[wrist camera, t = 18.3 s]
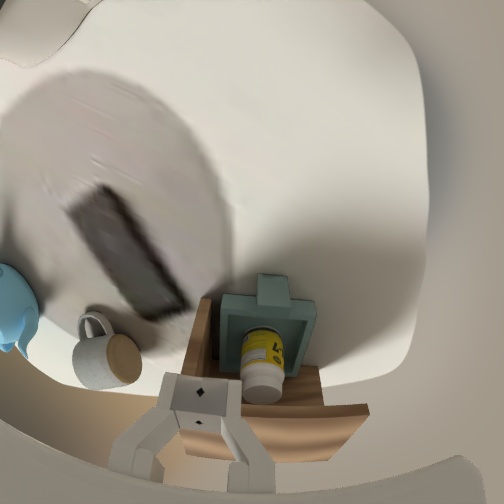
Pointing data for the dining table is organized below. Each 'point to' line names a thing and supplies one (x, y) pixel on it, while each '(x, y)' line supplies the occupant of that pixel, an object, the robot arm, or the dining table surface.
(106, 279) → the dining table surface
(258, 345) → the supplement bottle
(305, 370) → the open wooden box
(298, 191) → the dining table surface
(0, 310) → the teapot
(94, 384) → the ceramic mug
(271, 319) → the tray
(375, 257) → the dining table surface
